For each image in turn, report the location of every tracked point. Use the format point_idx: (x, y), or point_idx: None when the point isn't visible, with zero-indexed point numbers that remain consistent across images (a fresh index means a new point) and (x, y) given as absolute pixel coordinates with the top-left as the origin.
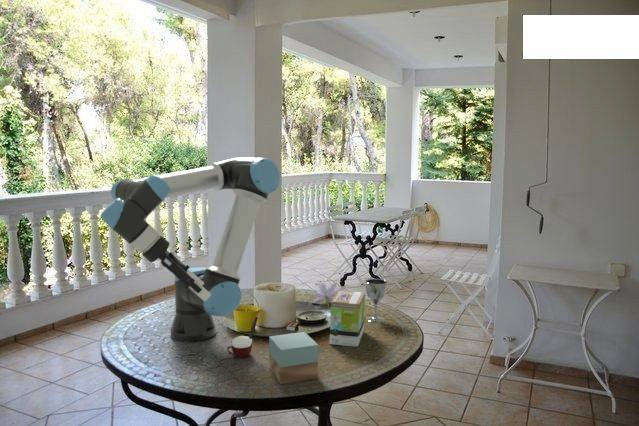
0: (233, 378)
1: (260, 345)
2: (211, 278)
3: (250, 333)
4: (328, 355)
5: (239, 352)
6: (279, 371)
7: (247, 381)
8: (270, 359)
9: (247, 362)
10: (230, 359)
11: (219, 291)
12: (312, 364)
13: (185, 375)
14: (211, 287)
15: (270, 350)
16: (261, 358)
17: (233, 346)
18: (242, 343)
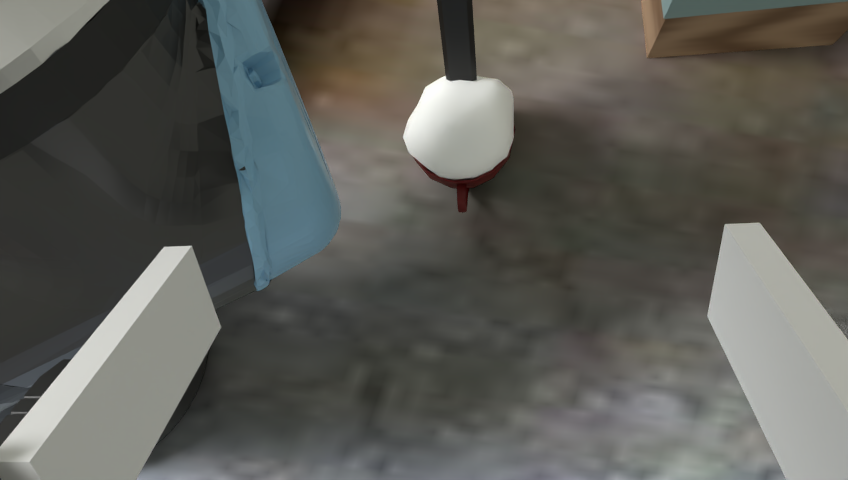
0: (723, 230)
1: (371, 52)
2: (98, 144)
3: (462, 60)
4: None
5: (508, 158)
6: (842, 17)
7: (772, 175)
8: (674, 31)
9: (555, 141)
10: (496, 211)
11: (302, 120)
12: None
13: (628, 450)
14: (207, 181)
15: (694, 4)
16: (528, 73)
17: (477, 176)
18: (510, 125)
